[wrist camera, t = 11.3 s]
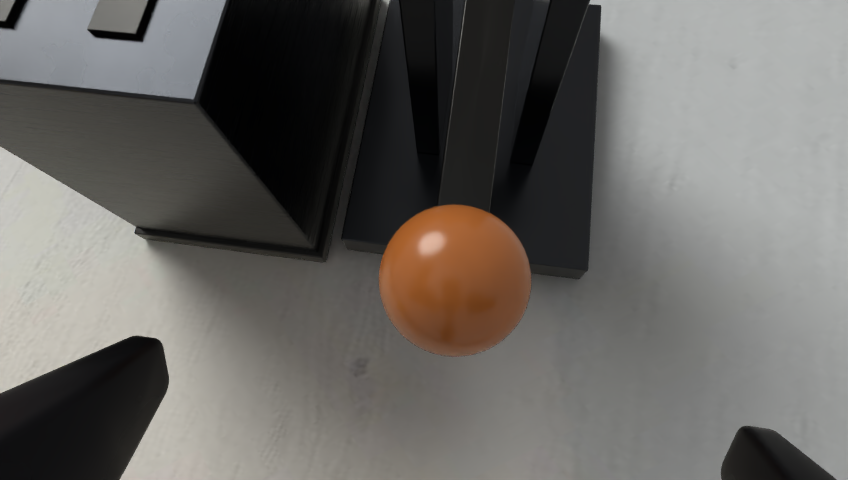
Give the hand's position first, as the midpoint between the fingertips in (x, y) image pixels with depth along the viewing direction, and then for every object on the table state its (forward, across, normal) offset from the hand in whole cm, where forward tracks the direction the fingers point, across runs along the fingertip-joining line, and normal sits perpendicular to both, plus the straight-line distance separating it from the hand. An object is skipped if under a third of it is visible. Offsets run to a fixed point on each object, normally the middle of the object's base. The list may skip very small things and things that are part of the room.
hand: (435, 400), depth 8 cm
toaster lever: (+8, 0, -3) cm, 8 cm away
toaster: (+18, +10, 0) cm, 21 cm away
